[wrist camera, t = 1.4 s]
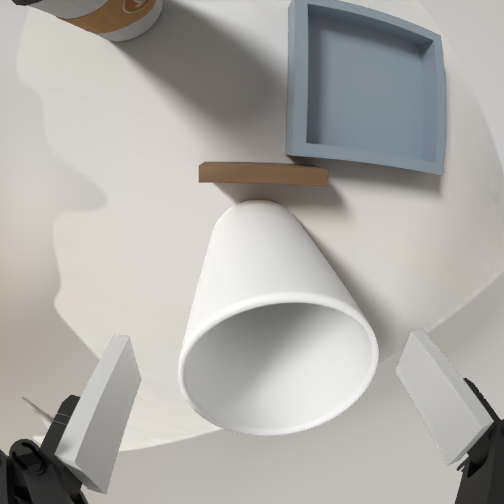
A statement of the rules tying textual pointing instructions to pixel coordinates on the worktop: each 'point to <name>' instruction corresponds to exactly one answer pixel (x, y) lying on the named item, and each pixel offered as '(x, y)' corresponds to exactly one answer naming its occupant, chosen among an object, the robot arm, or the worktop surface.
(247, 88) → the worktop surface
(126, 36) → the coffee cup
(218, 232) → the cup
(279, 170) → the clip rails
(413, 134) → the tray
